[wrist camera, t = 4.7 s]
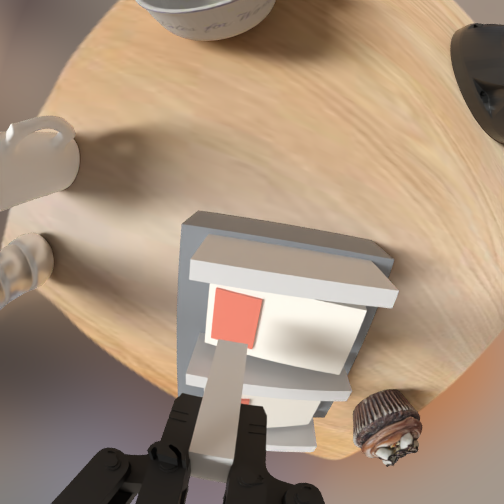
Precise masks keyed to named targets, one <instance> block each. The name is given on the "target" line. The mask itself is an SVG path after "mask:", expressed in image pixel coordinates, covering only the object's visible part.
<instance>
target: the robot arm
mask: <svg viewBox="0 0 504 504" xmlns="http://www.w3.org/2000/svg"><path fill="white" fill-rule="evenodd" d="M451 60H452V65H453V70H454V73H455V77H456V80H457V82H458V85H459V88H460V90H461V93H462V95H463V97H464V99H465V101H466V103H467V105H468V107H469V109H470V110H471V112H472V114H473V115H474V117H475V118H476V120H477V121H478V123H479V124H480V125H481V127H482V128H483V129H484V130H485V131H486V132H487V133H488V134H489V135H490V136H491V137H492V138H494V139H495V140H497V141H498V142H501V143H504V25H497V24H478V23H474V24H469V25H467V26H465V27H463V28H461V29H459V30H457V31H456V32H455V34H454V35H453V37H452V41H451ZM247 348H248V344H244V343H238V342H232V341H226V340H221V339H218V342H217V346H216V350H215V354H214V357H213V361H212V365H211V368H210V372H209V376H208V380H207V383H206V387H205V391H204V395H203V397H199V396H194V395H190V394H185V393H182V394H181V395H180V396H179V397H178V398H177V399H176V400H175V401H174V404H173V407H172V410H171V412H170V415H169V419H168V421H167V424H166V427H165V430H164V432H163V435H162V438H161V441H158V442H155V443H154V444H152V445H151V446H150V447H149V448H148V450H147V451H148V454H147V455H127V454H124V453H123V452H121V451H120V450H117V449H115V448H105V449H102V450H101V451H99V452H98V453H97V454H96V455H95V456H94V457H93V458H92V459H91V460H90V461H89V463H88V464H87V465H86V466H85V467H84V468H83V469H82V470H81V471H80V473H79V474H78V475H77V476H76V477H75V478H74V479H73V480H72V481H71V482H70V484H69V485H68V486H67V487H66V488H65V489H64V490H63V491H62V492H61V494H60V495H59V496H58V497H57V498H56V499H55V500H54V501H53V502H52V504H130V503H131V502H132V500H133V499H134V497H135V496H136V495H137V493H139V495H138V498H137V501H136V504H185V501H186V496H187V492H188V483H189V478H190V476H191V477H196V478H201V479H206V480H211V481H217V482H224V483H226V490H225V494H224V497H223V504H325V502H324V501H323V497H322V495H321V492H320V491H319V489H318V488H317V487H315V486H314V485H312V484H308V483H298V484H296V485H293V484H289V483H286V482H283V481H280V480H278V479H276V478H274V477H273V476H271V475H270V474H269V472H268V471H267V468H266V463H265V461H266V434H267V415H266V412H265V410H264V408H263V406H255V405H248V404H241V398H242V389H243V381H244V373H245V365H246V357H247Z"/></svg>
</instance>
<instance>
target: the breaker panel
mask: <svg viewBox="0 0 504 504" xmlns="http://www.w3.org/2000/svg"><path fill="white" fill-rule="evenodd" d="M393 262H394V259H393V258H392V257H391V256H390V255H388V254H387V253H386V252H385V251H384V250H383V249H381V248H380V247H379V246H378V245H377V244H376V243H374V242H373V241H372V240H367V239H362V238H357V237H352V236H347V235H342V234H336V233H331V232H326V231H320V230H315V229H309V228H304V227H298V226H292V225H287V224H281V223H275V222H269V221H263V220H257V219H250V218H244V217H238V216H231V215H225V214H218V213H211V212H204V211H197V212H196V213H195V214H193V215H192V216H191V217H190V218H188V219H187V220H186V221H185V222H184V223H182V228H181V241H180V255H179V273H178V299H177V381H178V397H179V396H180V395H181V394H182V393H185V394H190V395H194V396H199V397H203V395H204V388H205V387H206V383H207V380H208V376H209V372H210V368H211V365H212V361H213V357H214V354H215V350H216V346H215V345H212V344H209V343H206V342H205V331H206V319H207V308H208V297H209V286H210V283H211V284H217V285H223V286H229V287H235V288H241V289H247V290H253V291H260V292H266V293H273V294H280V295H287V296H294V297H301V298H308V299H316V300H324V301H331V302H340V303H348V304H356V305H365V306H366V309H367V312H366V314H365V317H364V320H363V322H362V325H361V327H360V330H359V332H358V334H357V337H356V339H355V341H354V344H353V346H352V348H351V351H350V353H349V355H348V357H347V359H346V362H345V364H344V366H343V368H342V370H341V372H340V374H339V375H337V374H332V373H326V372H321V371H316V370H310V369H306V368H301V367H296V366H291V365H287V364H283V363H278V362H274V361H270V360H266V359H262V358H258V357H254V356H250V355H247V357H246V365H245V373H244V381H243V389H242V394H243V395H250V396H259V397H268V398H278V399H291V400H308V401H321V402H320V404H319V406H318V408H317V410H316V411H315V413H314V415H313V417H325V415H326V414H327V412H328V410H329V409H330V407H331V405H332V403H333V402H334V401H347V399H348V398H349V396H350V394H351V392H352V389H351V386H350V383H349V380H348V376H347V375H348V373H349V371H350V369H351V367H352V365H353V363H354V361H355V359H356V357H357V355H358V352H359V350H360V348H361V346H362V344H363V341H364V339H365V337H366V335H367V332H368V330H369V328H370V325H371V323H372V320H373V318H374V315H375V313H376V310H377V308H378V307H384V308H393V305H394V303H395V300H396V298H397V295H398V292H399V290H398V289H397V288H396V287H395V286H394V285H393V283H392V282H391V281H390V280H389V279H388V277H389V274H390V271H391V268H392V265H393ZM313 417H312V419H311V421H310V422H309V424H306V425H297V426H286V427H271V428H267V434H266V451H282V452H313V451H314V450H315V448H316V447H317V444H316V437H315V429H314V422H313Z"/></svg>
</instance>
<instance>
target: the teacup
mask: <svg viewBox="0 0 504 504" xmlns="http://www.w3.org/2000/svg"><path fill="white" fill-rule="evenodd" d="M275 1H276V0H136V2H137V3H138V4H139V5H140V6H141V7H143V8H145V9H146V10H147V11H148V12H149V13H150V14H151V15H152V16H153V17H154V18H155V19H156V20H157V21H158V22H159V23H160V24H161V25H162V26H163V27H164V28H166V29H167V30H169V31H170V32H172V33H173V34H175V35H178V36H180V37H183V38H187V39H191V40H198V41H212V40H220V39H225V38H229V37H233V36H236V35H239V34H241V33H244V32H246V31H248V30H250V29H251V28H253V27H255V26H256V25H257V24H259V23H260V22H261V21H262V20H263V19H264V18H265V17H266V16H267V15H268V14H269V13H270V11H271V9H272V8H273V6H274V3H275Z"/></svg>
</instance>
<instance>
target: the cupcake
mask: <svg viewBox="0 0 504 504" xmlns="http://www.w3.org/2000/svg"><path fill="white" fill-rule="evenodd" d="M421 431H422V424H421V422H420V416H419V414H418V412H417V411H416V410H415V409H414V407H413V406H412V405H411V404H410V403H409V402H408V400H407V399H406V398H405V397H404V396H403V395H402V394H401V393H400V392H399V391H397V390H390V389H389V390H384V391H380V392H377V393H375V394H373V395H370V396H369V397H367V398H366V399H364V400H362V401H361V402H360V403H359V404H358V405H357V406H356V407H355V410H354V411H353V441H354V445H356V446H358V447H360V448H361V450H362V452H363V453H364V454H365V455H366V456H368V457H370V458H379V459H381V460H383V463H384V464H387V465H386V466H387V467H388V466H390V465H392V466H393V465H394V464H395V463H396V462H397V461H398V459H399V457H400V458H402V457H404V456H406V454H410V453H416V452H417V451H418V446H419V443H418V441H417V439H418V438H419V436H420V434H421Z"/></svg>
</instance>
